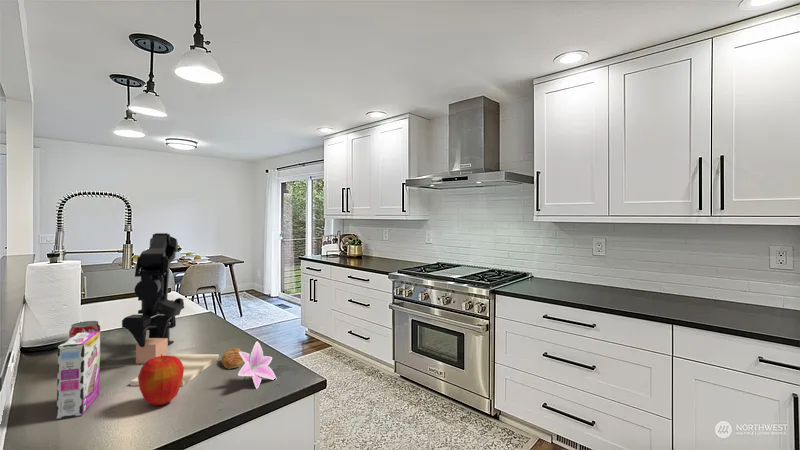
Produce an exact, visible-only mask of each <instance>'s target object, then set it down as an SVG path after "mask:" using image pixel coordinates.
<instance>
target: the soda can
mask: <svg viewBox="0 0 800 450" xmlns="http://www.w3.org/2000/svg"><path fill="white" fill-rule="evenodd" d="M96 331H100V332H101V326H100V325H99V321H97V320H87V321H80V322H76V323H73V324H71V327H70V329H69V330H68V333H69V334H68V336H69V338H68V339H70V338H71V337H73V336H74V335H76V334H77V333H83V332H96ZM101 356H102V355H101V352H100V361H101V359H102V357H101Z"/></svg>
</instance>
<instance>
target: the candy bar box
mask: <svg viewBox="0 0 800 450" xmlns="http://www.w3.org/2000/svg"><path fill="white" fill-rule="evenodd" d="M100 353H101V330H100V331H96V332H83V333H77V334H76V335H74V336H73V337H71V338H70V339H69V338H68V339H67V340H66V341H63V343H61V344H60V345H58V346H57V376H56V377H57V378H56V379H57V381H56V382H57V386H56V391H57V393H56V420H62V419H68V418H69V419H70V418H74V417H75V418H77V417H81V416H83V415H84V414H85V412H87V410H88V409H89V408H90V406H91V405H92V404H93V402H94V401H95V400H96V399H97V398H98V396H99V395H100V371H101V370H100V369H101V368H100V367H101V365H100V363H101V360H100Z"/></svg>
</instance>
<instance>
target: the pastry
mask: <svg viewBox="0 0 800 450" xmlns="http://www.w3.org/2000/svg"><path fill="white" fill-rule="evenodd" d="M239 351H241V352H244V350H241V349H240V348H236V347H235V348H234V347H233V348H230V349H229V350H226V351H225V352H224V353H223V355H222V356H221V359H220V361H221V365H222V366H223V367H224V368H225V369H227V370H231V369H235V368H240V367H241V366H242V365H243V364H244V363H245V362H244V360H243V359H242V357H241V355H240V354H239ZM243 362H244V363H243ZM242 363H243V364H242ZM241 364H242V365H241Z"/></svg>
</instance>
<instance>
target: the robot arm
mask: <svg viewBox="0 0 800 450" xmlns="http://www.w3.org/2000/svg"><path fill="white" fill-rule="evenodd" d="M178 246H179V244H178V239H177V238H175V237H173V236H171V234H170V233H168V232H167V233H166V232H165V233H163V232H162V233H161V232H157V233H153V234H152V237H151V238H150V239H149V248H148V249H146V250H143V251H142V252H141V253H140V255H139V256H138V257H137V260H136V266H135V272H134V277H139V278H140V280H139V281H138V282H137V283H136V285H135V287H134V294H135V296H136V297H137V301H141V309H139V310H138V311H137V314H131V315H129V316H126V317H124V318H123V319H122V320H121V327H122V328H125V330H128V331H129V332H130V334H131V335H132V336H133V338H134V340H135V342H137V343H136V344H139V346H140V347H144V346H145V341H146V339H147V332H149V333H148V338H168V346H170V345H172V344H173V343H174V342H175V340H170V329H173V328H176V325H177V322H176V321H177V320H176V317H177V316H180V313H181V312H182V310H184V309H185V302H184V299H183V298H181V297H178V298H176V299H174V300H173V299H171V300H170V299H168V295H169V294H168V293H169V282H170V268H171V263H172V262H173V261H174V259H175V258H176V253H177V252H178V249H179V247H178Z"/></svg>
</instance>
